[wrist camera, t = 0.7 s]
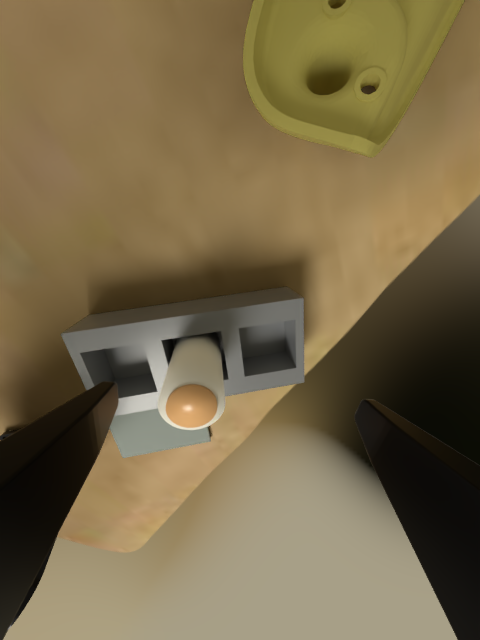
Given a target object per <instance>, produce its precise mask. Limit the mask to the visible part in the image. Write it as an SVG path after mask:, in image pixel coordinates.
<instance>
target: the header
mask: <svg viewBox="0 0 480 640" xmlns="http://www.w3.org/2000/svg"><path fill="white" fill-rule="evenodd" d="M212 332H216V333H217V334H218V336H219V339H220V348H221V359H222V370H223V381H224V392H225V396H230V395H236V394H242V393H247V392H253V391H258V390H264V389H270V388H275V387H281V386H287V385H292V384H298V383H303V382H304V298H303V297H302V296H300V295H299V294H297V293H296V292H294V291H293V290H291V289H290V288H288V287H281V288H274V289H267V290H260V291H253V292H246V293H239V294H232V295H225V296H218V297H211V298H204V299H197V300H190V301H183V302H176V303H169V304H162V305H155V306H148V307H141V308H134V309H127V310H120V311H113V312H106V313H99V314H92V315H88V316H87V317H85V318H84V319H82V320H81V321H79V322H78V323H76V324H75V325H73V326H72V327H70V328H69V329H67V330H66V331H64V332H63V333H61V336H62V338H63V340H64V343H65V345H66V347H67V349H68V351H69V353H70V356H71V358H72V360H73V362H74V364H75V367H76V369H77V371H78V373H79V375H80V377H81V380H82V382H83V384H84V386H85V388H86V390H89V389H90V388H92V387H94V386H95V385H97V384H99V383H101V382H103V381H109V382H116V383H117V387H118V399H119V402H118V407H117V410H116V413H115V415H114V416H117V415H123V414H129V413H134V412H140V411H145V410H151V409H157V408H158V399H159V395H160V392H161V389H162V386H163V383H164V379H165V376H166V373H167V370H168V367H169V364H170V360H171V357H172V354H173V351H174V348H175V344H176V341H177V338H179V337H186V336H192V335H199V334H205V333H212Z"/></svg>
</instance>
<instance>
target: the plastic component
mask: <svg viewBox="0 0 480 640" xmlns="http://www.w3.org/2000/svg"><path fill="white" fill-rule="evenodd" d="M464 1H465V0H254V1H253V4H252V8H251V11H250V16H249V20H248V24H247V28H246V33H245V40H244V48H243V69H244V77H245V81H246V85H247V89H248V92H249V94H250V97H251V99H252V101H253V103H254V105H255V107H256V108H257V110H258V111H259V113H260V114H261V115H262V117H263V118H264V119H265V120H266V121H267V122H268V123H269V124H270V125H271V126H273V127H274V128H276V129H278V130H279V131H281V132H284V133H286V134H288V135H291V136H294V137H296V138H300V139H303V140H307V141H310V142H314V143H319V144H324V145H328V146H332V147H336V148H339V149H343V150H346V151H350V152H353V153H357V154H360V155H364V156H367V157H370V158H372V157H374V156H376V155H377V154H378V153H379V152H380V151H381V149H382V148H383V147H384V146H385V144H386V143H387V141H388V140H389V139H390V137H391V135H392V134H393V132H394V131H395V129H396V128H397V126H398V124H399V123H400V121H401V119H402V118H403V116H404V114H405V112H406V111H407V109H408V107H409V105H410V104H411V102H412V100H413V98H414V96H415V95H416V93H417V91H418V89H419V87H420V85H421V84H422V82H423V80H424V78H425V76H426V74H427V72H428V70H429V68H430V67H431V65H432V63H433V61H434V59H435V57H436V55H437V53H438V51H439V49H440V47H441V45H442V43H443V41H444V39H445V38H446V36H447V34H448V32H449V30H450V28H451V26H452V24H453V22H454V20H455V18H456V16H457V14H458V12H459V11H460V9H461V7H462V5H463V3H464ZM368 85H371V86H373V87H374V88H375V89H376V91H375V92H373V93H371V94H364V93H363V92H362V91H361V89H362V88H363V87H364V86H368Z"/></svg>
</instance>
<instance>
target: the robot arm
mask: <svg viewBox="0 0 480 640" xmlns="http://www.w3.org/2000/svg"><path fill="white" fill-rule="evenodd" d="M118 402H119V399H118V387H117V383H116V382H109V381H103V382H101V383H99V384H97V385H95V386H94V387H92V388H90V389H89V390H87V391H85V392H83V393H82V394H80V395H78V396H77V397H75V398H73V399H71V400H70V401H68V402H66V403H65V404H63V405H61V406H59V407H58V408H56V409H54V410H53V411H51V412H49V413H47V414H46V415H44V416H42V417H41V418H39V419H37V420H35V421H34V422H32V423H30V424H29V425H27V426H25V427H23V428H22V429H18V430H13V431H7V432H4V433H3V434H2V435H1V436H0V440H1V441H0V640H3V639H4V637H5V635H6V633H7V631H8V629H9V628H10V627H11V626H12V625H13V624H14V622H15V621H16V619H17V618H18V617H19V615H20V614H21V612H22V611H23V610H24V608H25V606H26V605H27V603H28V602H29V600H30V598H31V597H32V595H33V593H34V591H35V590H36V588H37V586H38V584H39V581H40V580H41V577H42V575H43V573H44V570H45V567H46V564H47V562H48V559H49V556H50V554H51V551H52V548H53V546H54V543H55V540H56V538H57V535H58V532H59V530H60V529H61V527H62V525H63V523H64V521H65V519H66V517H67V515H68V513H69V511H70V509H71V507H72V505H73V503H74V502H75V500H76V498H77V496H78V494H79V492H80V490H81V488H82V486H83V484H84V482H85V480H86V478H87V476H88V475H89V473H90V471H91V469H92V467H93V465H94V463H95V461H96V459H97V457H98V455H99V453H100V450H101V448H102V445H103V443H104V440H105V438H106V435H107V433H108V430H109V428H110V425H111V423H112V420H113V418H114V415H115V413H116V410H117V407H118ZM355 422H356V424H357V427H358V430H359V432H360V435H361V437H362V440H363V442H364V445H365V448H366V450H367V453H368V455H369V458H370V460H371V463H372V465H373V467H374V469H375V471H376V473H377V475H378V477H379V479H380V481H381V484H382V486H383V488H384V490H385V492H386V494H387V496H388V498H389V500H390V502H391V504H392V506H393V508H394V510H395V512H396V514H397V516H398V518H399V520H400V522H401V524H402V526H403V529H404V531H405V532H406V535H407V537H408V539H409V541H410V543H411V545H412V547H413V549H414V551H415V553H416V555H417V557H418V559H419V561H420V563H421V565H422V567H423V569H424V571H425V573H426V576H427V578H428V580H429V582H430V583H431V586H432V588H433V590H434V592H435V594H436V596H437V598H438V600H439V602H440V604H441V606H442V608H443V610H444V612H445V614H446V616H447V618H448V621H449V622H450V625H451V626H452V629H453V631H454V633H455V635H456V637H457V639H458V640H480V466H479V465H478V464H476V463H475V462H473V461H471V460H470V459H468V458H467V457H465V456H463V455H462V454H460V453H458V452H457V451H455V450H454V449H452V448H451V447H449V446H447V445H445V444H444V443H443V442H441V441H439V440H438V439H436V438H435V437H433V436H431V435H430V434H428V433H426V432H425V431H423V430H422V429H420V428H419V427H417V426H415V425H414V424H412V423H410V422H408V421H407V420H406V419H404V418H403V417H401V416H399V415H398V414H396V413H395V412H393V411H391V410H390V409H388V408H386V407H385V406H383V405H382V404H380V403H378V402H377V401H375V400H372V399H363V400H362V401H361V402H360V405H359V407H358V409H357V411H356V413H355Z"/></svg>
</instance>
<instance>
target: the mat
mask: <svg viewBox="0 0 480 640" xmlns="http://www.w3.org/2000/svg"><path fill="white" fill-rule="evenodd" d="M110 430H111V432H112V435H113V437H114V439H115V441H116V444H117V446H118V448H119V450H120V453H121V455H122V457H123V458H126V457H131V456H137V455H142V454H147V453H152V452H158V451H163V450H168V449H173V448H179V447H184V446H189V445H194V444H200V443H205V442H210V441H211V440H210V433H209V429H208V426H207V427H205V428H202V429H197V430H184V429H179V428H176V427H174V426H172V425H170V424H168V423H167V422H166V421H165V420H164V419H163V418H162V417H161V415H160V413H159V410H158V408H157V409H151V410H145V411H140V412H134V413H129V414H123V415H117V416H114V418H113V420H112V423H111V425H110Z"/></svg>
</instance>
